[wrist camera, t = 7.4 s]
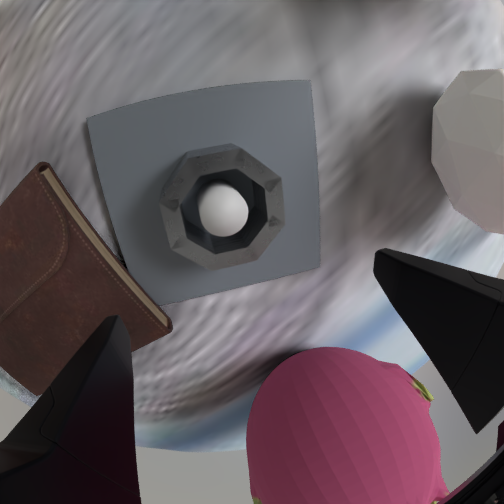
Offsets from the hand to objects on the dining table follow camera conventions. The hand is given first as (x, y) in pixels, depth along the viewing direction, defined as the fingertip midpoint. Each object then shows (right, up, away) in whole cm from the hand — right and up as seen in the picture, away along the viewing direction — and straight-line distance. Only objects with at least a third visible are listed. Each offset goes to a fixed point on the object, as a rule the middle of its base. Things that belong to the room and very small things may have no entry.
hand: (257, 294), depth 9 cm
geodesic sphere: (+18, +13, +11) cm, 25 cm away
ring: (-2, +5, +9) cm, 10 cm away
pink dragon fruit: (+4, -10, +19) cm, 22 cm away
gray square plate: (-3, +5, +9) cm, 11 cm away
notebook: (-18, -3, +9) cm, 20 cm away
